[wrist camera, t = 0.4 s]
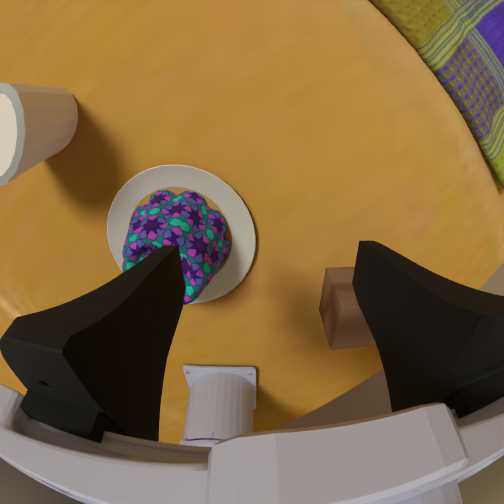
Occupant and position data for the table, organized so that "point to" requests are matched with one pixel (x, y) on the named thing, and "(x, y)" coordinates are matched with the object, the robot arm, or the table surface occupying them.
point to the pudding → (184, 228)
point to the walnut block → (343, 311)
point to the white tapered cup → (33, 125)
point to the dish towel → (462, 59)
